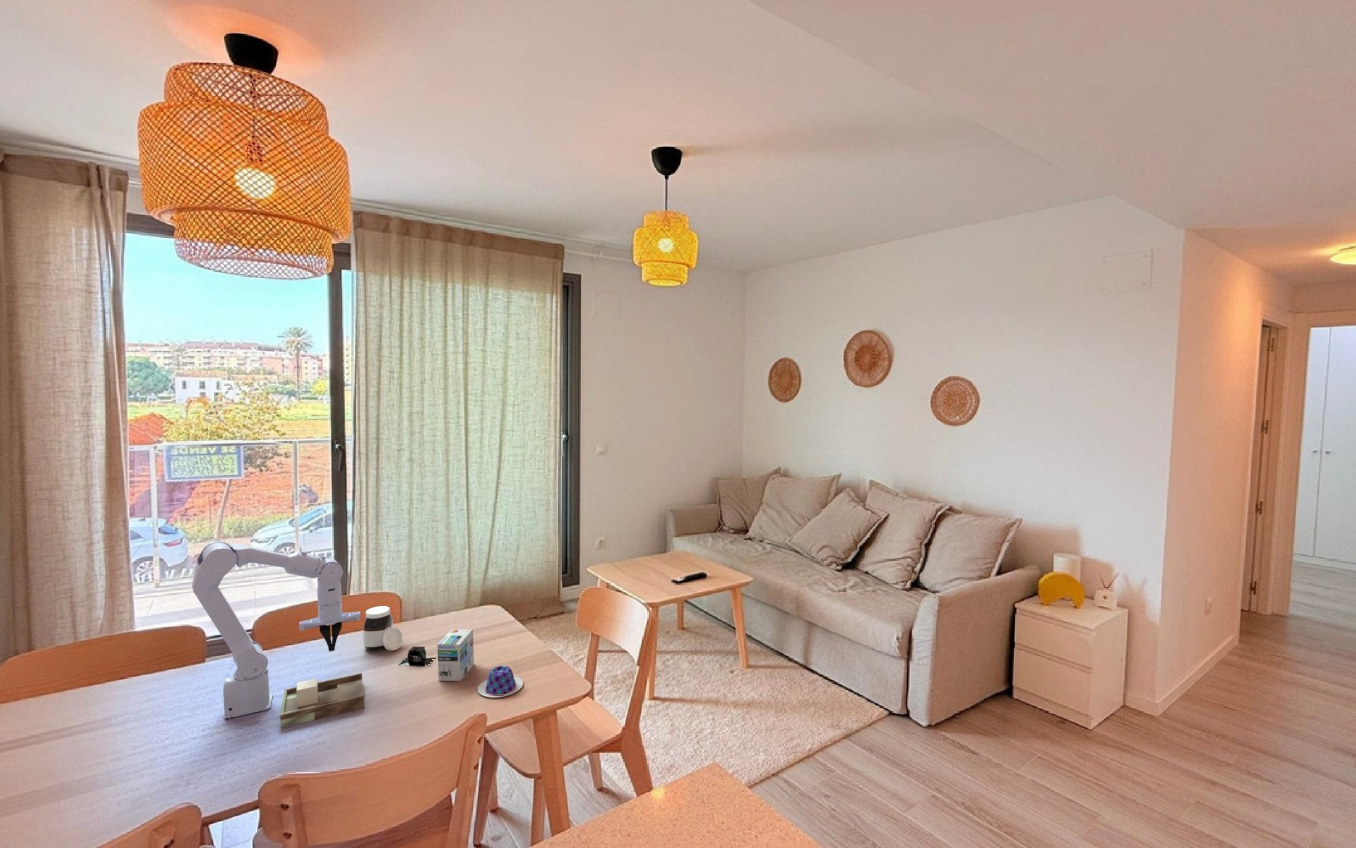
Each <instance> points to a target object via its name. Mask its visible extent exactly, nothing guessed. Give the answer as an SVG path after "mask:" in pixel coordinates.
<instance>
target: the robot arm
mask: <svg viewBox="0 0 1356 848" xmlns="http://www.w3.org/2000/svg"><path fill="white" fill-rule="evenodd" d="M250 563H253V564H258V565H265V566H271V567H277V568H278V567H279V568H283V569H284V571H285V572H286V573H287V574H289V575H294V576H299V577H304V578H309V579H315V578H317V581H316V582H317V587H316V590H317V592H316V594H317V615H318V616H317V617H314V618H310V619H307V620H302V621H299V632H301V631H305V630H308V629H313V628H319V633H320V634H321V636H322V637H323V639H324V640H325V642H326V645H327V648H328V652H329V653H330V652H334V651H336V650H335V649H336V643H337V640H338V636H339V635H340V632H341V630H342V628H343V623H348V622H353V621H356V622H358V621H361V611H352V612H343V605H342V604H343V603H342V600H343V598H342V584H341V578H342V576H343V575H344V570H343V568H342V565H341V564H340V563H339V562H338V561H337V560H336V559H334V558H332V557H330V556H326V555H325V556H324V555H320V556H316V555H312V554H308V551H304V550H301V551H300V552H298V551H295V552H292V553H291V554H283V553H279V552H276V551H272V550H267V549H264V548H259V547H255V546H251V545H246V544H242V543H237V542H229V543H228V542H226V541H222V540H221V541H220V540H217V541H213V542H210V543H208V544H207V545H205V546H204V547H203V548H202V550H201V551H200V553H199V555H198V556H197V558H196V565H195V568H194V569H195V571H194V575H193V579H192V583H191V587H192V591H193V593H194V594H195V596H196V598H197V600H198V601H199V603H200V604H201V606H202V607H203V610H205V612H206V614H207V615H208V617H209V618H210V620H211V622H212V624H213V625H214V626H215V628H216V629H217V631H218V632H219V635H220V636H221V637H222V639H223V640H224V642H225V643H226V645H227V646H228V648H229V650H230V652H231V654H232V655H233V657H232V659H233V662H234V664H235V666H236V667H237V668H236V670H235V672H234V673H233V675H231V676H228V677H226V678H224V681H223V694H222V695H223V710H224V718H225V719H224V720H227V719H226V718H228V719H232V718H231V717H233V718H237V717H240V716H244V715H250V714H254V713H258V712H263V711H266V710H268V711H269V710H270V709H271V706H272V703H273V702H272V701H273V695H274V694H273V693H270V681H269V678H270V677H269V665H268V664H269V660H268V657H267V656H266V655H265V652H264V650H263V647H262V645H261V644H259V643H258V642H255V641H254V640H253V639H252V638H251V636H250V635H249V634H248V632H247V630H246V629H245V628H244V626H243V624H242V622H241V621H240V619H239V618H238V616H237V615H236V613H235V611H234V610H233V608H232V606H231V605H230V604H229V601H228V600H227V598H226V597H225V595H224V593H223V592H222V590H221V589H220V587H219V586H220V585H221V582H222V581H223V579H224V577H225V576H226V575H227V574H228V573H229V572H231V570H233V568H234V567H235V565H236V566H237V568H241V567H244V566H245V565H247V564H250Z"/></svg>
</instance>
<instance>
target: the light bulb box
mask: <svg viewBox="0 0 1356 848" xmlns="http://www.w3.org/2000/svg"><path fill="white" fill-rule="evenodd" d="M436 646H437V666H438V667H437V671H438V672H437V673H438V674H437V676H438V681H439V682H441V681H443V682H445V681H446V682H450V681H451V682H461V681H462V680H463V679H464V678H465V676H467V674H468V673H469V671H470V670H471V669H472V668H473V667H474V665H475V655H474V653H475V652H474V650H475V649H474V647H475V646H474V629H462V628H461V629H459V628H451V630H449V632H447V634H446V635H445V636H444V637H443V638H442V639H441V640H440V641H439V642H438V643H437V645H436Z"/></svg>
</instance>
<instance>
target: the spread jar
mask: <svg viewBox="0 0 1356 848" xmlns="http://www.w3.org/2000/svg"><path fill="white" fill-rule="evenodd" d="M390 610H391V608H390V606H386V605H384V606H383V605H382V606H379V605H378V606H375V607H371V608H369V609H367V610H366V611H365V620H364V622H363V626H362V627H363V630H362V631H363V632H362V633H363V638H362V639H363V647H364V649H366V650H369V651H381V650H384V649H386V650H388V651H390V652H392V651H395V650H396V651H397V650H398V649H399V648H400V647H401V646H402V644H403V640H404V639H403V633H402V631H401V630H400V628H398V627H394V618H393V615H392V614H391V613H390V612H391V611H390Z"/></svg>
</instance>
